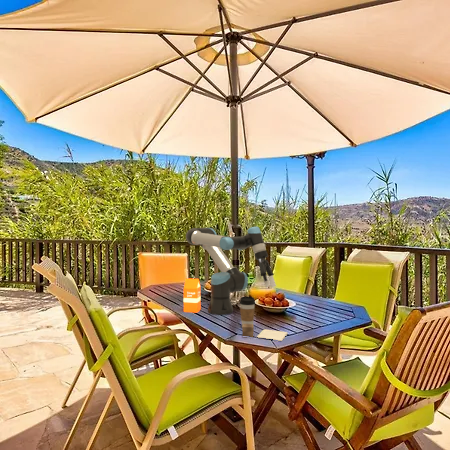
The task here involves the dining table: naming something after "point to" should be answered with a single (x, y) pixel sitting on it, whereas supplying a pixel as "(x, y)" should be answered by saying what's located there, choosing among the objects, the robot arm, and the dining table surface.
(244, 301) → the coffee cup
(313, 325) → the dining table surface
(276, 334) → the coaster
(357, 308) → the dining table surface
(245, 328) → the walnut cube
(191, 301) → the orange juice
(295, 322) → the dining table surface
